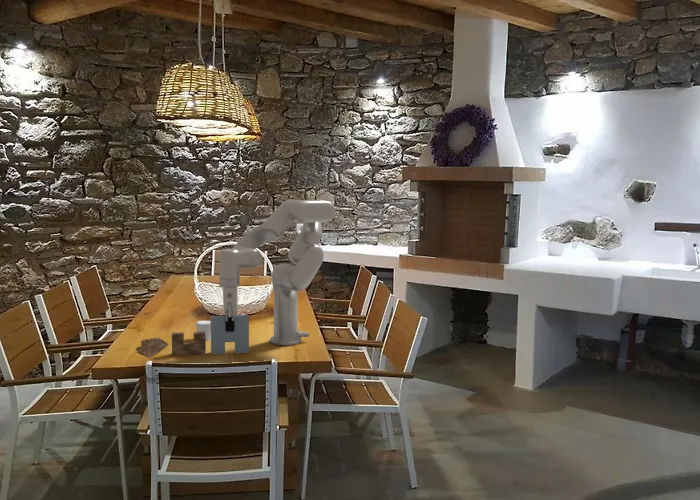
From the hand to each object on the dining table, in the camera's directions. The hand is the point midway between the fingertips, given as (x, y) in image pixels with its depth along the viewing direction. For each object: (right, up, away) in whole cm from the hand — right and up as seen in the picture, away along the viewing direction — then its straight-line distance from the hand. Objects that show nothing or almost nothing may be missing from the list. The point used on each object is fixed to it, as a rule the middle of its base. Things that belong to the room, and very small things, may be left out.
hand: (229, 330), depth 230 cm
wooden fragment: (-31, -8, +5) cm, 32 cm away
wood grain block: (-15, -9, -2) cm, 17 cm away
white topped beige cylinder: (-14, -6, +19) cm, 24 cm away
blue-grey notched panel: (0, -9, +1) cm, 9 cm away
